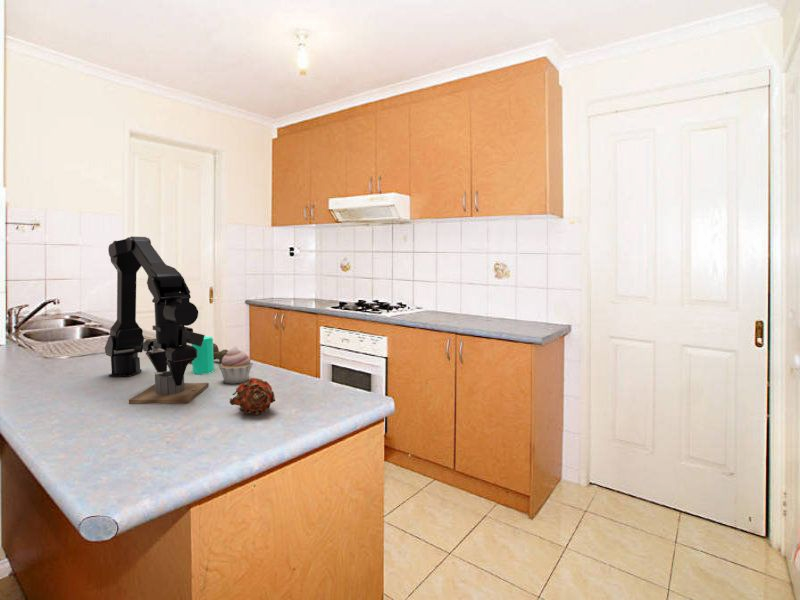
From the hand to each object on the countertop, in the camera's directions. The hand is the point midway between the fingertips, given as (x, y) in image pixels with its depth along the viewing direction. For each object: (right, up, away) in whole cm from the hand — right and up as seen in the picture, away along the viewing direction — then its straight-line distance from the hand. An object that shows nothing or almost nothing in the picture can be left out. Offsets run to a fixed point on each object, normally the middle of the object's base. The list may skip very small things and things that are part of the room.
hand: (170, 381), depth 118 cm
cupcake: (+12, -2, +13) cm, 18 cm away
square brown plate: (0, -3, 0) cm, 3 cm away
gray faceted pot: (0, -2, 0) cm, 2 cm away
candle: (-2, -1, +23) cm, 23 cm away
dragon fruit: (+25, -5, -12) cm, 28 cm away
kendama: (-4, 0, +36) cm, 36 cm away
